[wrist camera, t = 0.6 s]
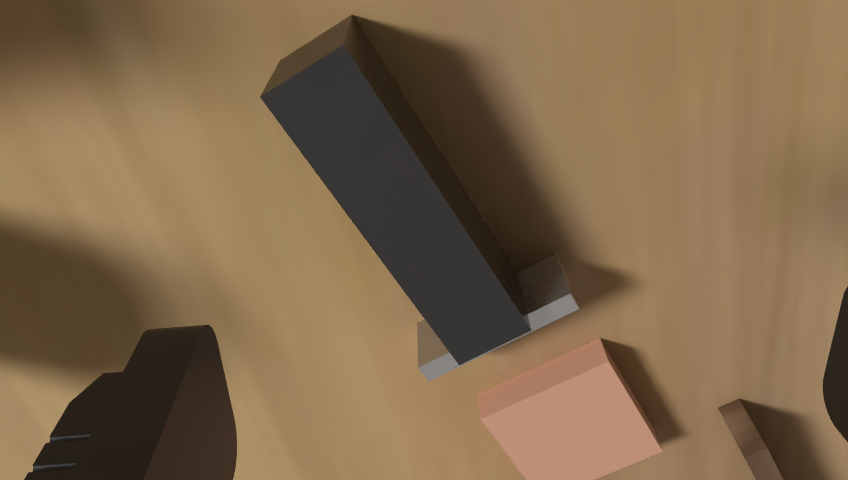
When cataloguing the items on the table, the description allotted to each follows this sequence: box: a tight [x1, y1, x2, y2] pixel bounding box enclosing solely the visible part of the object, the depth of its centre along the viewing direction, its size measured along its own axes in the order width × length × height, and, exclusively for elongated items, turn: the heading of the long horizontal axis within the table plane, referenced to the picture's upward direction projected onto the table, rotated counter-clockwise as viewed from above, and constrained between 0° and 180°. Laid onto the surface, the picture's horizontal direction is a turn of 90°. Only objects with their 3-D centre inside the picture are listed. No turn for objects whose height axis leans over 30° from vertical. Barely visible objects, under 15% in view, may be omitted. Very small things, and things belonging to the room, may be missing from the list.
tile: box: [477, 338, 662, 480], centre depth 33 cm, size 6×6×2 cm
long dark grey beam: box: [260, 15, 579, 381], centre depth 26 cm, size 6×13×4 cm, turn 31°
